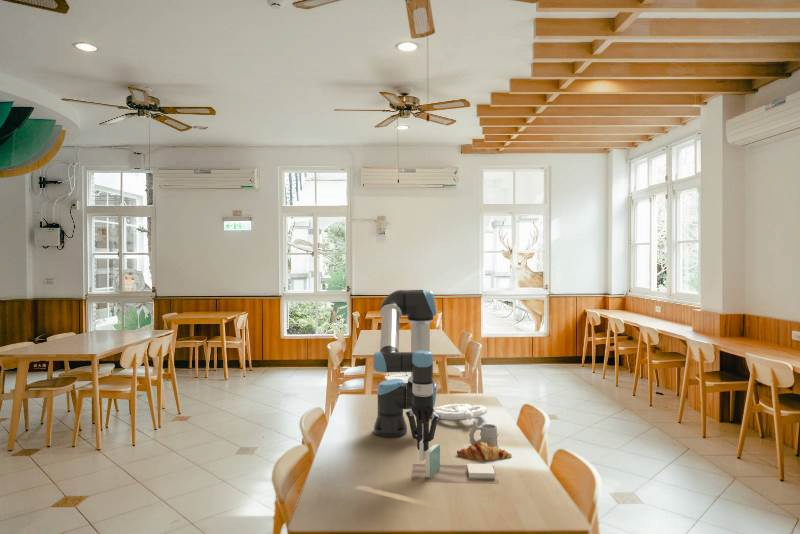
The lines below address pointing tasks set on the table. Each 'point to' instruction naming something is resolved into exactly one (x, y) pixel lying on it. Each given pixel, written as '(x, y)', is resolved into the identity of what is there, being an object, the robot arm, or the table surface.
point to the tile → (432, 460)
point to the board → (448, 475)
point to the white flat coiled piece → (460, 411)
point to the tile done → (480, 471)
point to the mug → (484, 434)
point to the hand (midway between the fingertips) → (423, 459)
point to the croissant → (483, 452)
